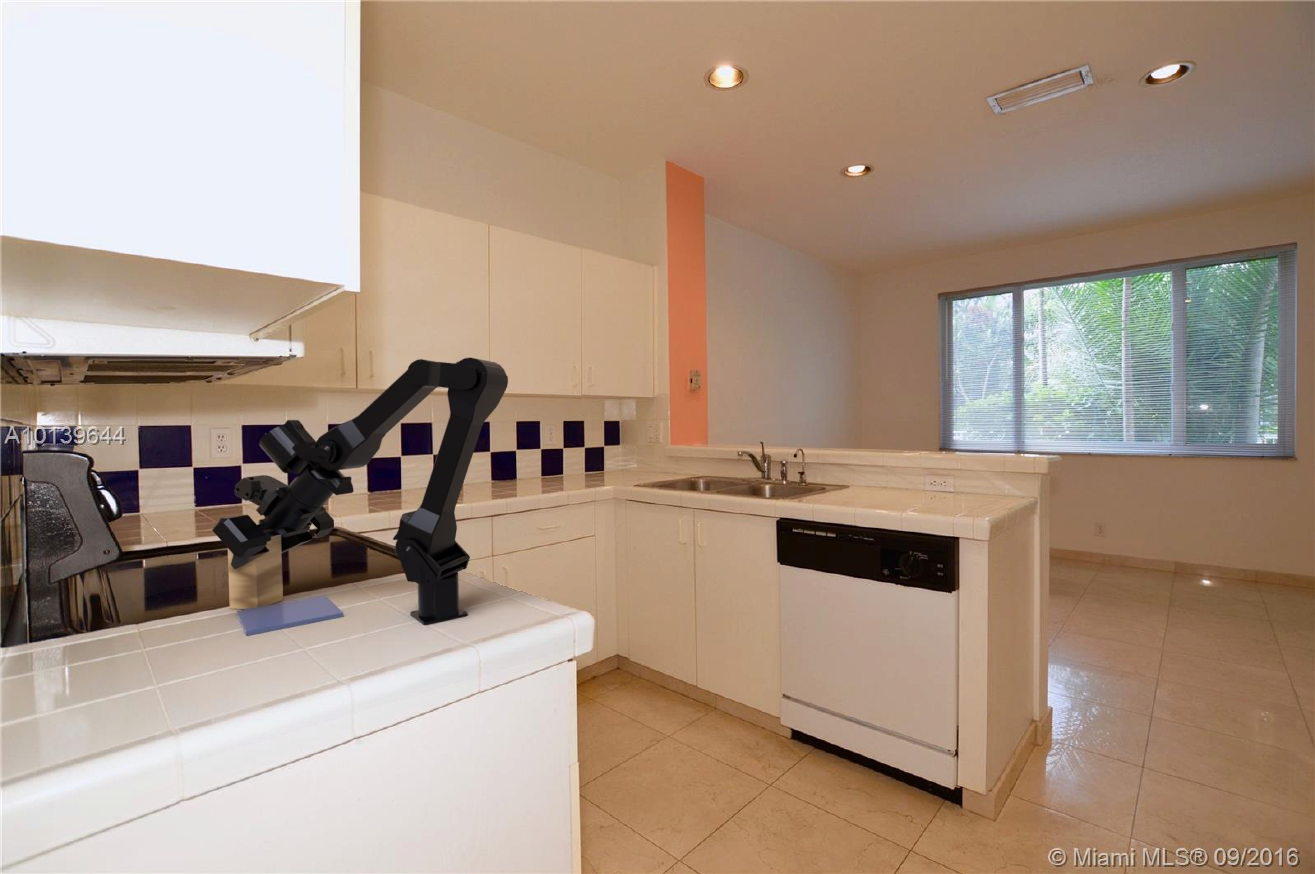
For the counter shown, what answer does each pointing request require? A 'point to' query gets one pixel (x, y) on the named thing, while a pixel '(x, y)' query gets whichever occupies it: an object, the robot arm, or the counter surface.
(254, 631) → the blue tile
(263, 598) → the oak block
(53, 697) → the counter surface
